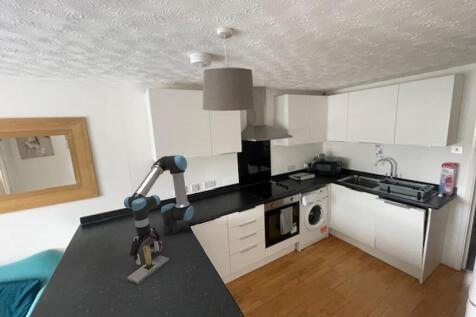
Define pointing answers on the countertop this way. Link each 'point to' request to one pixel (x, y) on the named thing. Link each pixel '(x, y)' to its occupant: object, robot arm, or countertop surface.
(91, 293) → the countertop surface
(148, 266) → the pin
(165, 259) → the lower link
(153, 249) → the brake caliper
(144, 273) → the light grey flat block
